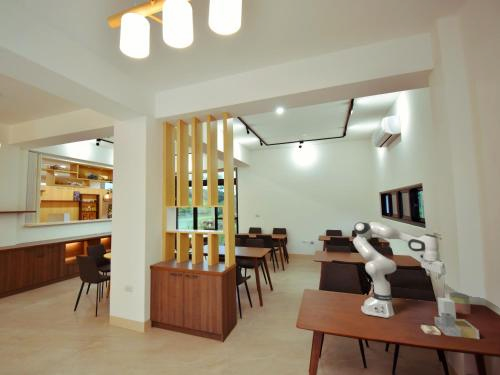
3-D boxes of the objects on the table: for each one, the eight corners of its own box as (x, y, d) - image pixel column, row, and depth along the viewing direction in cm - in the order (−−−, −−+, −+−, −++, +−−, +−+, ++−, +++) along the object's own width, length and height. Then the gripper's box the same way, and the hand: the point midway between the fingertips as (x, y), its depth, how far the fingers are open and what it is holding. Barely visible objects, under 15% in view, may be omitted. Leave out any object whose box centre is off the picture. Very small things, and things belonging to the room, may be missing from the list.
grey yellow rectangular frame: (446, 335, 145) (445, 326, 146) (435, 324, 159) (434, 316, 159) (479, 339, 141) (478, 330, 141) (465, 327, 155) (464, 319, 155)
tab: (425, 333, 148) (425, 330, 148) (421, 328, 155) (420, 324, 155) (440, 335, 146) (440, 331, 146) (435, 329, 153) (435, 326, 153)
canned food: (450, 307, 185) (448, 291, 186) (469, 310, 179) (467, 294, 180) (451, 312, 176) (450, 295, 177) (472, 316, 170) (470, 299, 171)
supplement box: (456, 320, 164) (455, 301, 165) (444, 319, 165) (443, 301, 166) (450, 315, 171) (448, 297, 172) (438, 315, 172) (437, 297, 173)
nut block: (445, 324, 149) (445, 315, 149) (441, 320, 154) (441, 312, 154) (455, 325, 148) (454, 316, 148) (451, 321, 152) (450, 313, 153)
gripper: (447, 261, 158) (449, 282, 156) (427, 254, 178) (428, 273, 177) (437, 260, 158) (439, 282, 157) (418, 254, 178) (419, 273, 177)
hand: (433, 277), depth 167 cm, fingers open, 8 cm apart
